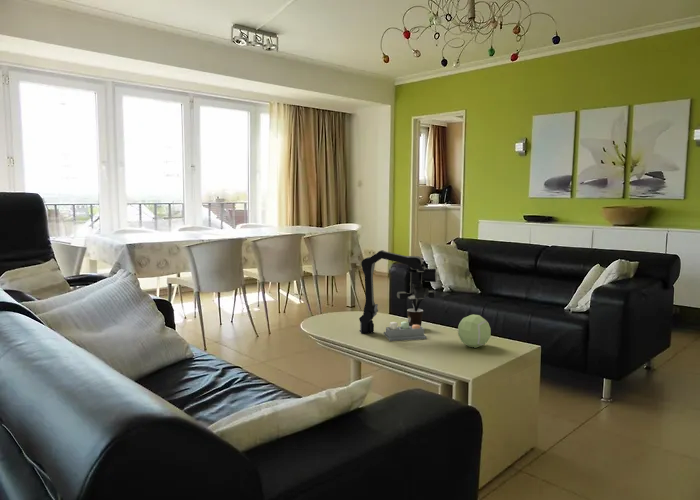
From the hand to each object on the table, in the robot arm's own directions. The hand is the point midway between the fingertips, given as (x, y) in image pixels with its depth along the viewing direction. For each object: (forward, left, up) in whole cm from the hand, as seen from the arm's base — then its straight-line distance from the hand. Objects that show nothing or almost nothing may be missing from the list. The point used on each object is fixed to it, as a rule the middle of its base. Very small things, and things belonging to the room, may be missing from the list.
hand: (415, 311), depth 266 cm
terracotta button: (0, 0, -11) cm, 11 cm away
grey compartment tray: (-6, 0, -13) cm, 14 cm away
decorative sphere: (+22, -23, -13) cm, 34 cm away
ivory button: (-12, 0, -9) cm, 15 cm away
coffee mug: (+5, +17, -13) cm, 22 cm away
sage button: (-6, 0, -9) cm, 11 cm away
